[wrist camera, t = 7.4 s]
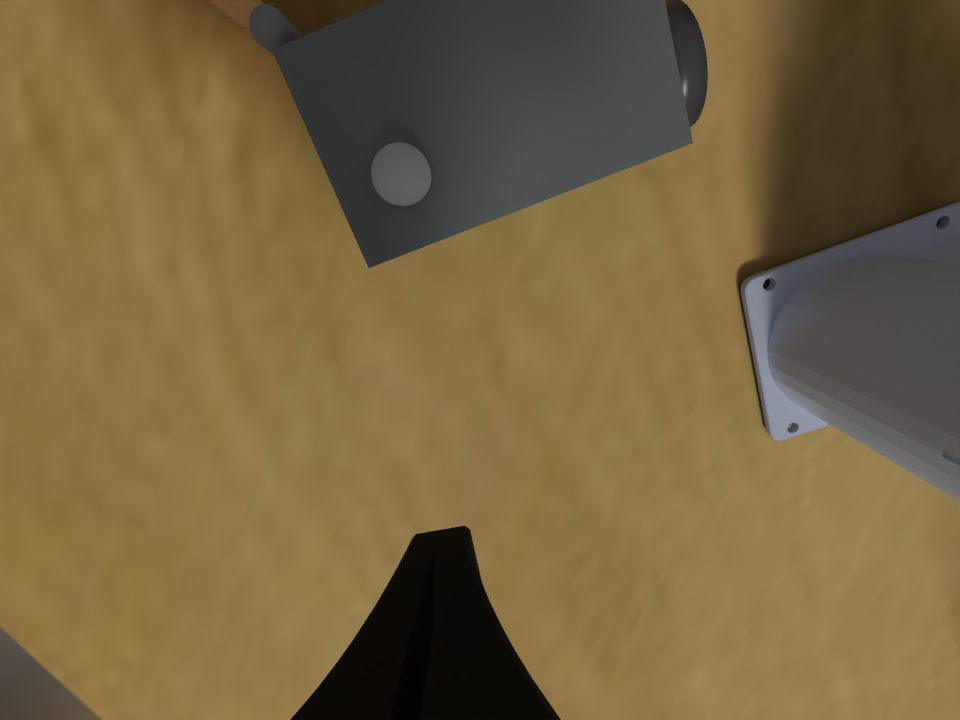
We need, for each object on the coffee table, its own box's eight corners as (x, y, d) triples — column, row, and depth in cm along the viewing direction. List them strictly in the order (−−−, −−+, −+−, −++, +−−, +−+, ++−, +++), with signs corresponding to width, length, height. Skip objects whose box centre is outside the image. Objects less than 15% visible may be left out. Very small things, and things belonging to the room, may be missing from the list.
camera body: (619, -31, 16) (698, -153, 10) (659, 150, 18) (743, 124, 12) (326, 93, 17) (261, 39, 11) (393, 252, 18) (364, 270, 13)
